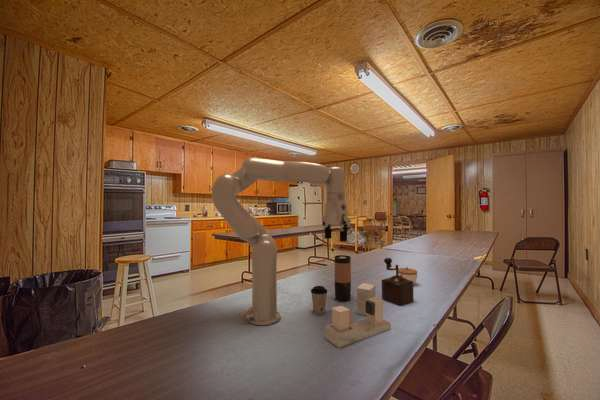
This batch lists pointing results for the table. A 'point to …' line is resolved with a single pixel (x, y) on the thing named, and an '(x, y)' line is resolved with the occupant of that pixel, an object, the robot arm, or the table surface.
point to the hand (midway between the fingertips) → (335, 239)
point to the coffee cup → (319, 299)
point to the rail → (360, 326)
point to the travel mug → (342, 278)
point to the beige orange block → (341, 318)
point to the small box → (364, 296)
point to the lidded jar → (408, 274)
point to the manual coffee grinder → (396, 287)
